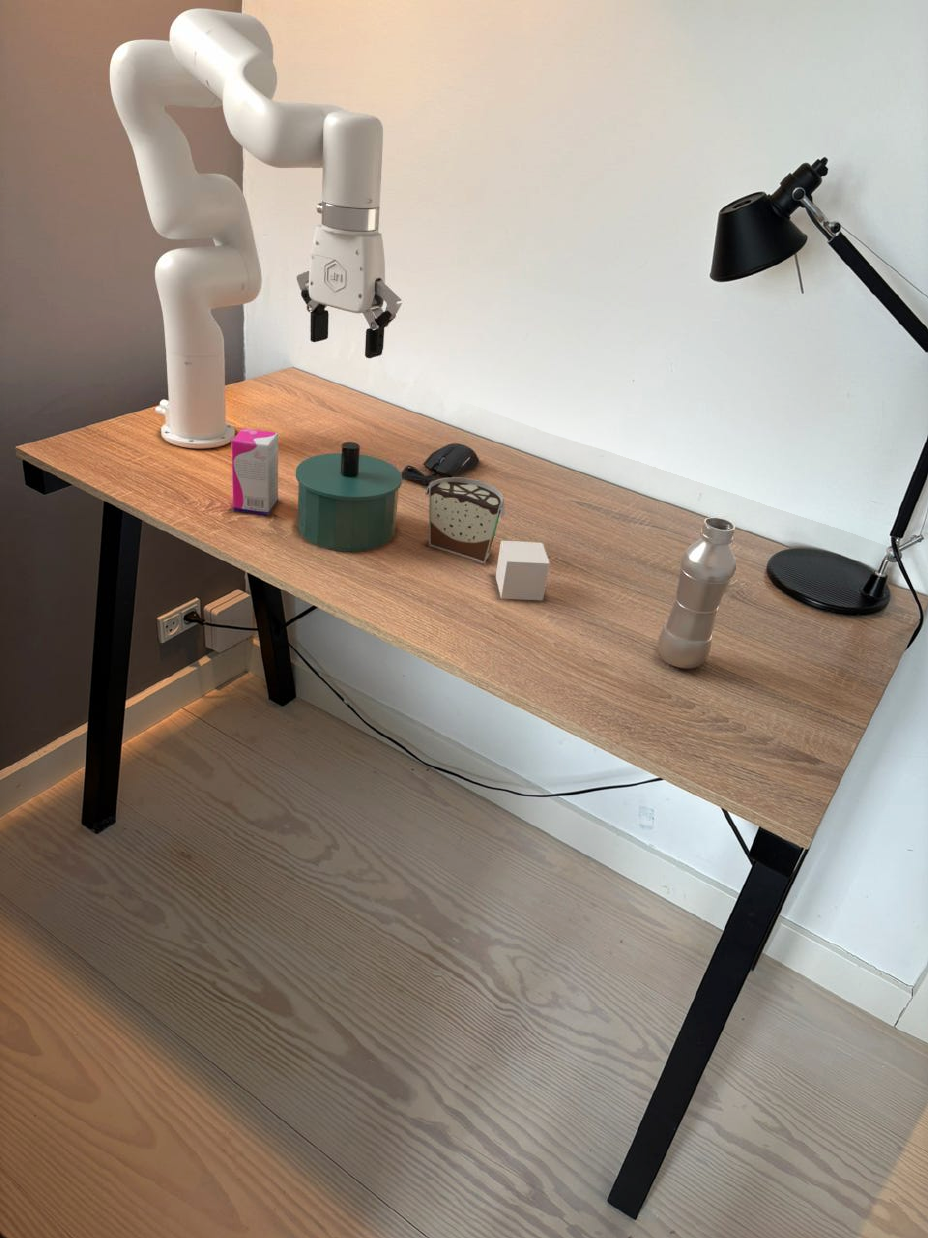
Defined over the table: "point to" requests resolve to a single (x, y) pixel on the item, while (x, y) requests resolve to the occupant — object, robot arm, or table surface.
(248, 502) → the supplement box
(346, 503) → the tin
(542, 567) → the white cube
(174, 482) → the table surface
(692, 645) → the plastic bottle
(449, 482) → the food container
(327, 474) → the tin lid
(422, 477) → the computer mouse
